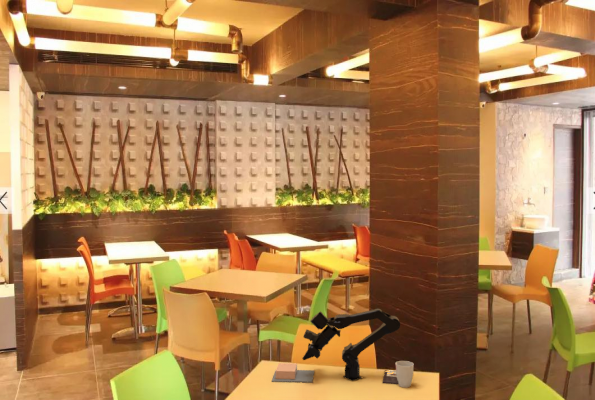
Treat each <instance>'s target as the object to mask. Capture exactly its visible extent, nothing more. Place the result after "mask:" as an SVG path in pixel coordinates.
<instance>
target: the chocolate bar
mask: <svg viewBox="0 0 595 400" xmlns="http://www.w3.org/2000/svg"><path fill="white" fill-rule="evenodd" d="M388 370H389V369H388ZM389 371H390V372H385V371H384V372H383V373H384V374H383V378H382V384H386V385H399V384H398V381H397V376H396V370H392V369H390V370H389ZM392 372H394V373H393V374H387V373H392Z"/></svg>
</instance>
